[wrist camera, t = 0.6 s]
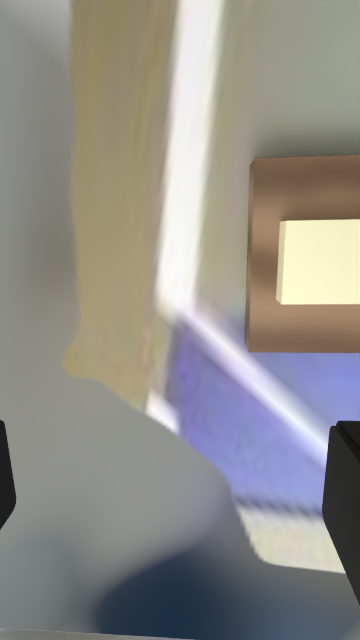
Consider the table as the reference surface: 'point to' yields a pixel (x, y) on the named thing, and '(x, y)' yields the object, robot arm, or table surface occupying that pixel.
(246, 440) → the table surface
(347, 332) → the block
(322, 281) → the notepad
